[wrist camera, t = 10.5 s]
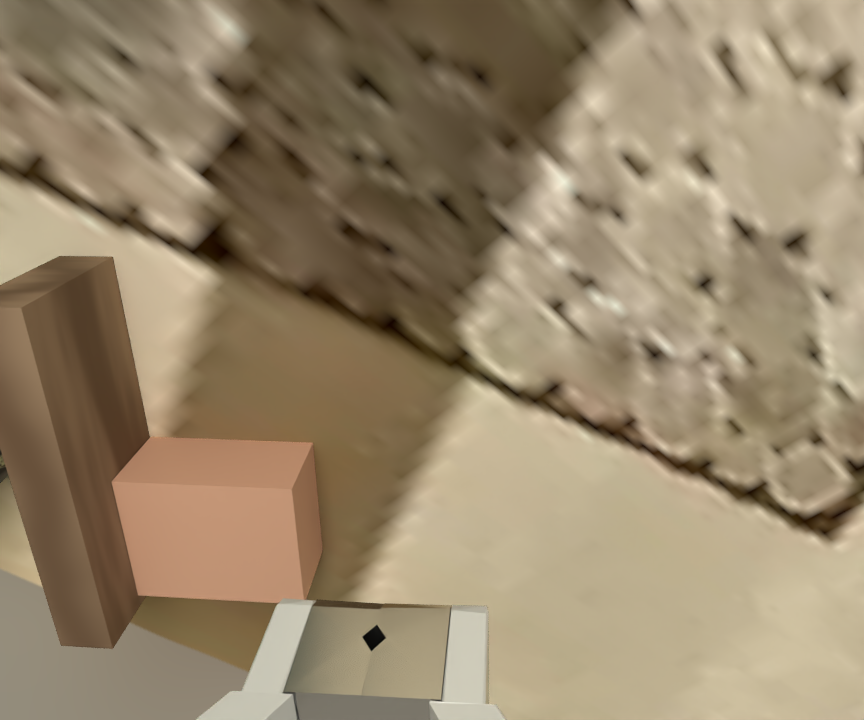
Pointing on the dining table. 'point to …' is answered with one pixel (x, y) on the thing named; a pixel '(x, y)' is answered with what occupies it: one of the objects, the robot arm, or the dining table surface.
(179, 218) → the dining table surface
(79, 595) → the walnut board
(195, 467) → the terracotta block
